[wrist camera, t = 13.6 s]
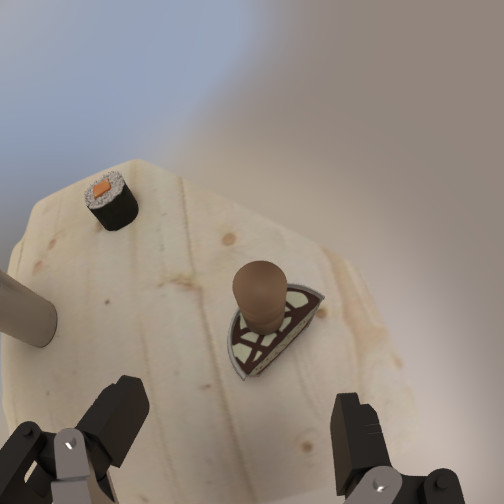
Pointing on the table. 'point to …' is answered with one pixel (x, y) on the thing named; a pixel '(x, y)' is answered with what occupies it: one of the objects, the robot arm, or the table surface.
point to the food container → (272, 346)
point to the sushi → (111, 201)
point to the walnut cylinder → (261, 296)
